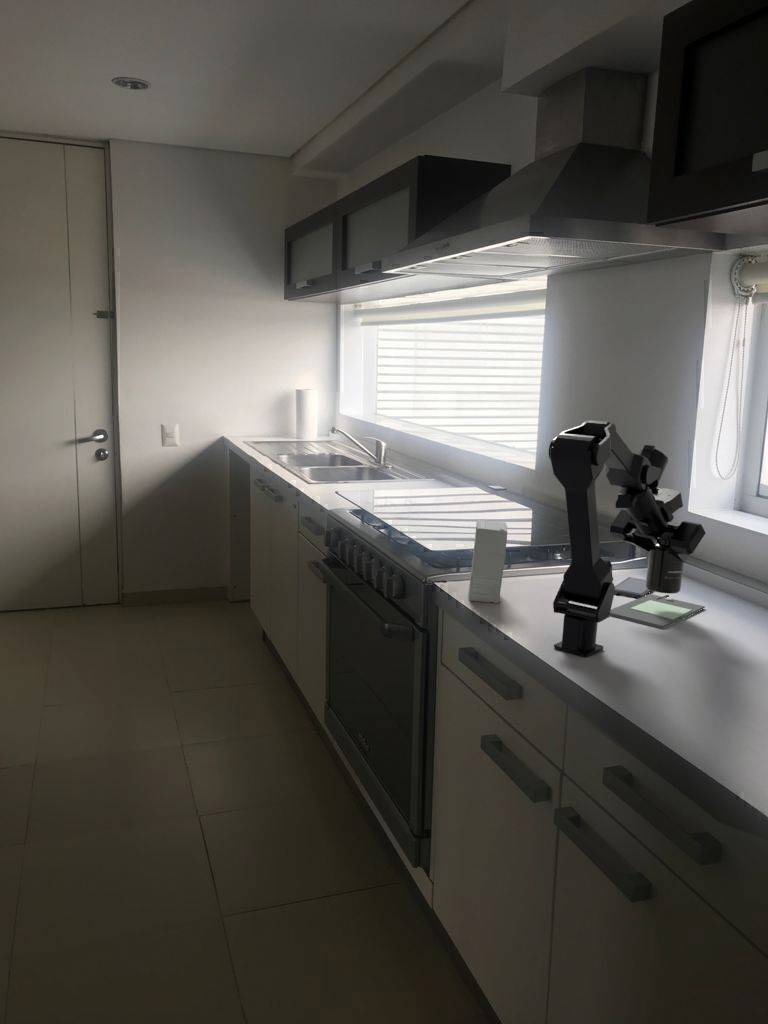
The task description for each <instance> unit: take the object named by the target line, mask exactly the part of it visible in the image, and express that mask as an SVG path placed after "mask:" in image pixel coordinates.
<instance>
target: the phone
mask: <svg viewBox="0 0 768 1024" xmlns="http://www.w3.org/2000/svg"><path fill="white" fill-rule="evenodd" d="M614 586H615V592H617V591H618V592H619V593H620V595H619V596H623V595H625V596H624V597H629V596H632V597H631V598H634V597H635V595H638V598H637V599H639V598H641V597H644V596H645V595H647V594H648V592H650V591H651V590H649V589H647V587H646V579H644V578H636V577H631V576H628V577H627V578H625V579H624V580H622V581H621V582H619V583H618V584H617V585H614ZM615 592H614V595H616V594H615ZM650 593H651V592H650ZM648 595H649V594H648Z"/></svg>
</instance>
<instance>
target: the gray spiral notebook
mask: <svg viewBox="0 0 768 1024" xmlns="http://www.w3.org/2000/svg"><path fill="white" fill-rule="evenodd" d="M660 597H663V596H662V595H656V594H653V593H649V594H648V595H646V596H644V597H641V598H635V599H634V600H631V601H629V602H626V603H624V604H621V605H619V606H617V607H614V608H611V611H610V615H609V617H610V616H611V617H615V618H618V619H621V620H622V619H624V620H627V621H631V622H634V623H638V624H643V625H646V626H650V627H653V628H654V627H655V628H658V629H661V630H663V629H665V628H667V627H669V626H671V625H674V624H676V623H679V622H680V621H682V620H684V619H683V618H685V619H686V617H687V618H689V617H691V616H692V614H693V615H695V614H697V613H698V612H697V611H699V610H701V609H703V608H705V607H706V606H705V605H700V604H697V603H693V602H688V601H682V600H678V599H674V598H673V597H669V598H666V597H664V598H661V599H659V600H657V599H658V598H660ZM696 612H697V613H696ZM699 612H700V611H699ZM694 613H695V614H694ZM690 615H691V616H690ZM688 616H689V617H688Z"/></svg>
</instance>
